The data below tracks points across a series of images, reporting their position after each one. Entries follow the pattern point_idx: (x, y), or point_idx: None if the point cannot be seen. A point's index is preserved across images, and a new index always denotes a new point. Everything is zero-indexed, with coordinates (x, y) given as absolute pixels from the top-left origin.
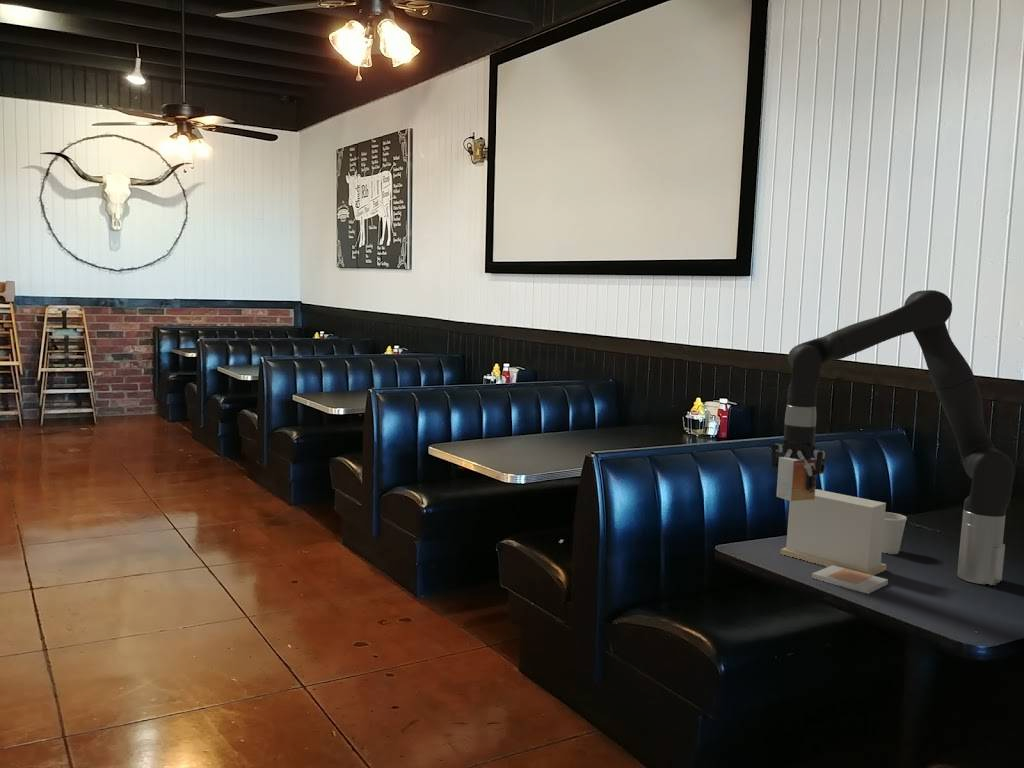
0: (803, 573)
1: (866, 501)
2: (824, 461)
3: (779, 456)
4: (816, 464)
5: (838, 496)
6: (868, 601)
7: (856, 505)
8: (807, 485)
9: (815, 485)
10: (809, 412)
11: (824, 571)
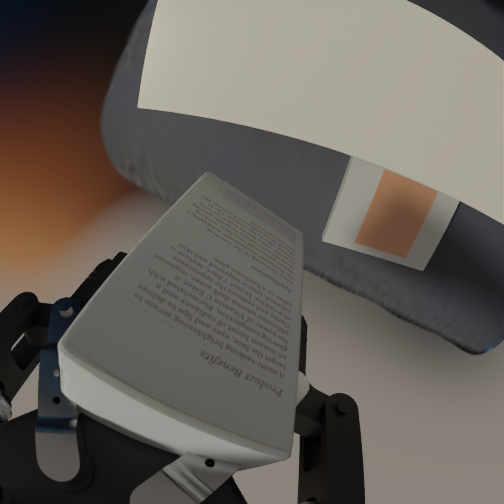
0: (300, 213)
1: None
2: (357, 485)
3: (7, 355)
4: (303, 477)
5: (407, 68)
6: (415, 297)
7: (481, 210)
8: None
9: (302, 281)
10: None
11: (345, 212)
